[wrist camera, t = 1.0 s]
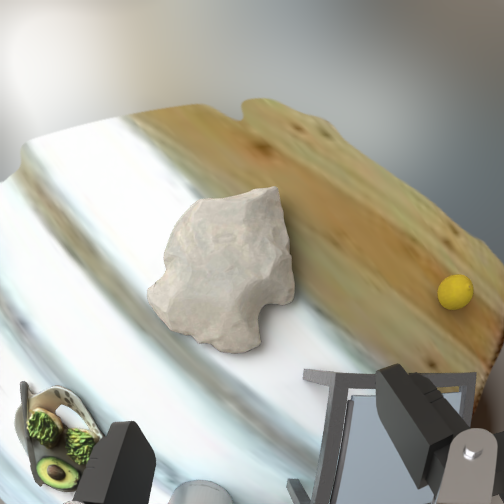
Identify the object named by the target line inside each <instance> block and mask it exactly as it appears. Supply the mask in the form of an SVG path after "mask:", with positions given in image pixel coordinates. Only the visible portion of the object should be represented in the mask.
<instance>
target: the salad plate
mask: <svg viewBox="0 0 504 504" xmlns="http://www.w3.org/2000/svg"><path fill="white" fill-rule="evenodd" d="M20 393H21V402H22V403H21V405H20V406H19V407H18V409H17V411H16V414H15V421H14V426H15V431H16V433H17V436H18V438H19V440H20V442H21V444H22V446H23V448H24V450H25V452H26V453H27V455H28V457H29V459H30V463H31V465H30V467H31V471H32V474H33V477H34V480H35V482H36V483H37V484H38V485H39V486H40V487H41V486H42V484H44V483H45V484H46V485H48V486H50V487H52V488H54V489H56V490H58V491H62V492H72V491H76V490H77V487H78V485H79V482H80V480H81V477H82V475H83V472H84V470H85V469H86V465H87V462H88V460H90V458H89V457H90V455H91V452H92V450H93V447H94V446H95V445H96V444H97V443H98V441H99V440H100V439H101V438H102V437H105V436H104V434H103V433H102V432H101V431H100V430H99V428H98V427H97V425H96V423H95V421H94V420H93V418H92V416H91V414H90V413H89V411H88V410H87V409H86V407H85V406H84V404H83V403H82V401H81V399H80V398H79V397H78V396H77V395H76V394H74V393H73V392H72V391H71V390H69V389H66V388H64V387H62V386H59V385H56V386H52V387H51V388H49V389H46V390H44V391H42V392H40V393H38V394H32V393H31V391H30V389H29V386H28V384H27V383H26V382H25V381H22V382H20ZM61 404H63V405H65V406H68V407H69V408H71V409H72V410H74V411H75V412H76V413H78V414H79V415H80V417H81V418H82V419H83V420H84V422H85V423H86V424H87V426H88V427H89V429H90V431H89V430H86V429H77V428H68V427H67V426H66V425H64V424H63V423H62V422H61V419H60V417H59V416H57V415H56V414H55V410H56V409H57V408H58V407H59V406H60V405H61Z"/></svg>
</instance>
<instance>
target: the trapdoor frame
mask: <svg viewBox="0 0 504 504" xmlns="http://www.w3.org/2000/svg"><path fill="white" fill-rule="evenodd" d="M476 373H477V372H470V373H419V374H421V375H423V376H425V377H427V378H429V379H430V380H431V382H432V383H433V384H434V385H435V386H436V387H451V386H459V392H462V393H461V401H460V409H459V415H460V416H461V417H462V419H463V420H464V421H465V422H466V424H467V425H468V426H469V427H470V424H471V418H472V411H473V403H474V394H475V384H476ZM411 374H413V373H409V374H408V375H411ZM303 379H304V380H307V381H311V382H315V383H318V384H322V385H326V386H329V387H330V388H329V396H328V404H327V411H326V418H325V425H324V432H323V438H322V444H321V450H320V456H319V462H318V467H317V473H316V478H315V483H314V488H313V493H312V498H311V500H310V499H309V497H308V495H307V494H306V492H305V490H304V488H303V487H302V485H301V483H300V481H299V480H298V479H288V481H287V490H288V492H289V494H290V496H291V499H292V501H293V503H294V504H329V500H330V495H331V491H332V486H333V481H334V476H335V471H336V466H337V460H338V455H339V449H340V443H341V437H342V431H343V424H344V417H345V410H346V403H347V395H348V388H356V389H376V374H355V373H340V372H330V371H321V370H311V369H304V373H303ZM426 504H431V502H430V503H426Z"/></svg>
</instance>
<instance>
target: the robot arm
mask: <svg viewBox="0 0 504 504" xmlns="http://www.w3.org/2000/svg"><path fill="white" fill-rule="evenodd" d="M376 408H377V412H378V416H379V418H380V421H381V422H382V424H383V426H384V428H385V430H386V431H387V433H388V435H389V437H390V439H391V441H392V442H393V444H394V446H395V448H396V450H397V452H398V453H399V455H400V457H401V459H402V461H403V463H404V465H405V466H406V468H407V470H408V472H409V474H410V476H411V478H412V479H413V481H414V483H415V485H416V487H417V489H418V490H419V489H421V488H423V487H425V486H427V485H429V487H430V489H431V491H432V492H433V494H434V495H433V498H432V501H431V504H490V503H491V497H492V496H495V495H498V494H499V496H500V497H501V499H502V501H503V503H504V431H503V432H500V433H496V434H491V433H490V432H488V431H486V430H484V429H478V428H475V429H471V428H470V427H469V426H468V425H467V424H466V422H465V421H464V420H463V419H462V417H461V416H460V415H459V414H458V413H457V411H456V410H455V409H454V408H453V407H452V405H451V404H450V403H449V402H448V401H447V399H446V398H444V396H443V395H442V393H441V392H440V391H439V390H437V388H436V386H435V385H434V384H433V383H432V382H431V380H430V379H429V378H427V377H425V376H423V375H421V374H419V373H417V372H416V373H413V374H411V375H408V374H407V373H406V371H405V370H404V369H403V368H402V366H401V365H400V364H398V363H397V364H394V365H391V366H389V367H386V368H383V369H380V370H377V371H376ZM89 458H90V460H88V462H87V465H86V469H85V470H84V472H83V475H82V477H81V480H80V482H79V485H78V487H77V490H76V493H75V495H74V498H73V500H72V501H69V502H66V503H63V504H148V503H149V497H150V492H151V487H152V482H153V477H154V472H155V467H156V458H155V453H154V451H153V449H152V447H151V446H150V444H149V442H148V441H147V439H146V438H145V436H144V434H143V433H142V431H141V429H140V428H139V426H138V424H137V423H136V422H134V421H126V422H113V423H112V424H111V426H110V429H109V431H108V434H107V436H106V437H102V438H101V439H100V440H99V441H98V443H97V444H96V445H95V446H94V447H93V450H92V452H91V455H90V457H89ZM168 504H233V500H232V498H231V496H230V495H229V493H228V492H227V491H226V490H225V489H224V488H222V487H221V486H219V485H217V484H215V483H213V482H209V481H205V480H193V481H189V482H185V483H183V484H181V485H180V486H179V487H177V488H176V489H175V491H174V492H173V494H172V496H171V498H170V500H169V502H168Z"/></svg>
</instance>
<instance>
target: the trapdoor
mask: <svg viewBox="0 0 504 504" xmlns="http://www.w3.org/2000/svg"><path fill="white" fill-rule="evenodd" d="M461 393H462V392H452V393H442V395H443V396H444V398H446V399H447V401H448V402H449V403H450V404H451V405H452V407H453V408H454V409H455V410H456V411H457V413H458V414H459V409H460V401H461ZM433 495H434V494H433V492H432V491H431V489H430V487H429V485H427V486H425V487H423V488H421V489H419V490H418V489H417V487H416V485H415V483H414V481H413V479H412V478H411V476H410V474H409V472H408V470H407V468H406V466H405V465H404V463H403V461H402V459H401V457H400V455H399V453H398V452H397V450H396V448H395V446H394V444H393V442H392V441H391V439H390V437H389V435H388V433H387V431H386V430H385V428H384V426H383V424H382V422H381V421H380V418H379V416H378V412H377V408H376V396H361V395H351V400H348V401H347V409H346V416H345V423H344V429H343V436H342V442H341V448H340V453H339V459H338V464H337V470H336V475H335V480H334V485H333V489H332V494H331V499H330V503H329V504H426V503H430V502H431V501H432V498H433Z"/></svg>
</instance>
